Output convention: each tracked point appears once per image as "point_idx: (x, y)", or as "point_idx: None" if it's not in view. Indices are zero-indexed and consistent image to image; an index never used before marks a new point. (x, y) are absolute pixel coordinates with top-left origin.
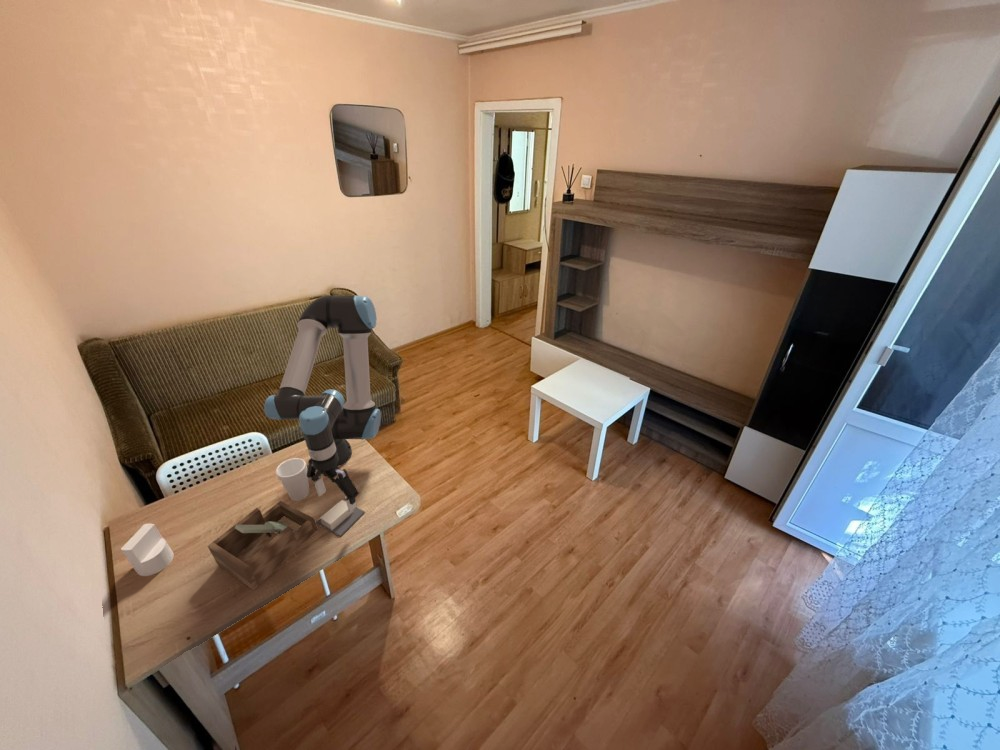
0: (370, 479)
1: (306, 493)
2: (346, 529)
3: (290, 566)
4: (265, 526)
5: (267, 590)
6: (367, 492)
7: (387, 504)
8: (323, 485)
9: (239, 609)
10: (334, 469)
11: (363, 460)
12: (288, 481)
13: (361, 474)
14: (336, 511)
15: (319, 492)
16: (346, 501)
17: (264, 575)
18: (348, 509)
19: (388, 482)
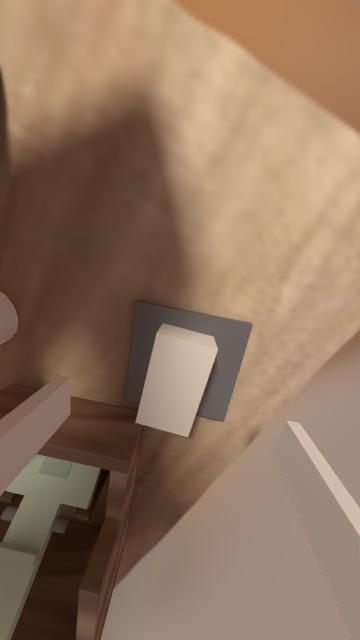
0: (181, 145)
1: (4, 320)
2: (229, 400)
3: (155, 497)
4: (7, 566)
5: (150, 537)
6: (209, 228)
7: (323, 261)
8: (23, 423)
9: (131, 564)
10: None
11: (64, 11)
12: None
13: (121, 129)
14: (173, 388)
15: (49, 434)
16: (335, 590)
17: (124, 538)
18: (281, 472)
19: (277, 129)
